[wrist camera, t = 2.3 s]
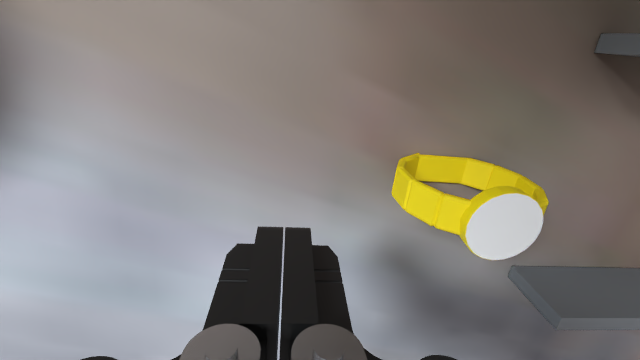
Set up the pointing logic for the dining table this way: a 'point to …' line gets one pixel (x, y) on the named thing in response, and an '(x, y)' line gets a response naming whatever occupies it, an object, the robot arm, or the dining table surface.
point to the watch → (473, 203)
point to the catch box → (587, 282)
